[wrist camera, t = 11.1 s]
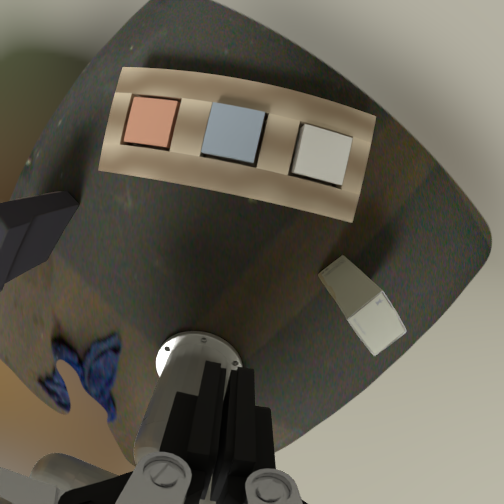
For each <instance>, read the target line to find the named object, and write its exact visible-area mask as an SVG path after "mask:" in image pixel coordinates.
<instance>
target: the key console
mask: <svg viewBox="0 0 504 504" xmlns="http://www.w3.org/2000/svg"><path fill="white" fill-rule="evenodd" d="M134 97H143V98H154V99H164V100H173V101H178V102H179V103H180V108H179V112H178V116H177V120H176V125H175V129H174V133H173V138H172V142H171V147H170V149H169V148H163V147H156V146H149V145H142V144H134V143H129V142H125V141H124V137H125V132H126V128H127V124H128V119H129V115H130V111H131V107H132V103H133V99H134ZM213 102H216V103H222V104H227V105H233V106H238V107H243V108H248V109H253V110H258V111H263V112H265V115H264V120H263V124H262V128H261V132H260V137H259V141H258V145H257V150H256V154H255V158H254V163H248V162H243V161H239V160H234V159H229V158H224V157H219V156H214V155H208V154H204V153H202V152H201V150H202V145H203V141H204V137H205V132H206V128H207V124H208V120H209V116H210V112H211V108H212V104H213ZM375 120H376V116H373V115H371V114H368V113H365V112H363V111H360V110H357V109H354V108H351V107H348V106H345V105H342V104H339V103H336V102H333V101H330V100H326V99H323V98H320V97H316V96H313V95H309V94H305V93H302V92H298V91H294V90H290V89H286V88H282V87H278V86H273V85H269V84H264V83H260V82H255V81H250V80H244V79H239V78H233V77H227V76H221V75H214V74H207V73H199V72H191V71H182V70H171V69H157V68H138V67H123V68H122V71H121V74H120V78H119V81H118V85H117V88H116V92H115V95H114V99H113V103H112V107H111V111H110V115H109V119H108V123H107V128H106V132H105V137H104V142H103V147H102V152H101V158H100V164H99V169H98V170H99V171H106V172H112V173H119V174H125V175H131V176H138V177H144V178H149V179H155V180H161V181H166V182H172V183H177V184H183V185H188V186H193V187H198V188H204V189H209V190H214V191H218V192H223V193H228V194H233V195H238V196H242V197H247V198H252V199H256V200H261V201H265V202H269V203H274V204H278V205H282V206H287V207H291V208H295V209H299V210H303V211H308V212H312V213H316V214H320V215H324V216H328V217H331V218H335V219H339V220H343V221H347V222H351V223H352V222H353V218H354V215H355V211H356V207H357V203H358V199H359V195H360V191H361V187H362V182H363V178H364V174H365V169H366V165H367V160H368V156H369V151H370V146H371V141H372V136H373V131H374V126H375ZM304 124H307V125H311V126H315V127H318V128H322V129H325V130H328V131H332V132H335V133H338V134H341V135H345V136H348V137H351V138H353V139H352V143H351V148H350V153H349V157H348V162H347V166H346V170H345V175H344V179H343V183H342V185H337V184H332V183H328V182H325V181H321V180H317V179H314V178H310V177H306V176H302V175H298V174H294V173H290V170H291V166H292V161H293V157H294V153H295V148H296V144H297V140H298V135H299V131H300V128H301V127H302V126H303V125H304Z"/></svg>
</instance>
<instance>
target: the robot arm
mask: <svg viewBox="0 0 504 504" xmlns="http://www.w3.org/2000/svg"><path fill="white" fill-rule="evenodd" d="M156 369H157V372H158V375H159V377H160V378H159V380H158V383H157V385H156V388H155V390H154V393H153V395H152V398H151V400H150V403H149V405H148V408H147V411H146V413H145V416H144V418H143V421H142V424H141V426H140V429H139V432H138V434H137V437H136V440H135V444H134V459H135V463H136V468H135V469H134V471H132V472H129V473H126V474H123V475H120V476H118V475H116V474H113V473H111V472H108V471H106V470H103V469H101V468H99V467H96V466H94V465H91V464H89V463H87V462H84V461H82V460H80V459H77V458H75V457H73V456H70V455H66V454H62V453H51V454H48V455H45V456H44V457H42V458H41V459H40V460H39V461H38V462H37V463H36V465H35V466H34V468H33V469H32V471H31V474H30V477H27V476H24V475H21V474H18V473H15V472H13V471H10V470H8V469H5V468H1V467H0V504H307V503H306V502H304V501H303V500H302V499H301V497H300V494H299V491H298V488H297V485H296V483H295V481H294V480H293V479H292V478H291V477H290V476H289V475H288V474H286V473H284V472H283V471H280V470H276V467H275V455H274V443H273V431H272V419H271V410H270V408H267V407H259V406H255V390H254V369H249V368H243V365H242V361H241V358H240V356H239V354H238V353H237V351H236V350H235V349H234V347H232V346H231V345H230V344H229V343H228V342H227V341H225V340H223V339H222V338H220V337H218V336H216V335H213V334H210V333H207V332H202V331H185V332H181V333H178V334H175V335H173V336H171V337H170V338H168V339H167V340H166V341H165V342H164V343H163V344H162V345H161V347H160V349H159V351H158V354H157V357H156Z"/></svg>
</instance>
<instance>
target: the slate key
mask: <svg viewBox="0 0 504 504" xmlns="http://www.w3.org/2000/svg"><path fill="white" fill-rule="evenodd" d="M264 115H265V112H263V111H258V110H253V109H248V108H243V107H238V106H233V105H227V104H222V103H216V102H213V104H212V108H211V112H210V116H209V120H208V124H207V128H206V132H205V137H204V141H203V145H202V150H201V152H202V153H204V154H208V155H214V156H219V157H224V158H229V159H234V160H239V161H243V162H248V163H254V158H255V154H256V150H257V145H258V141H259V137H260V132H261V128H262V124H263V120H264Z"/></svg>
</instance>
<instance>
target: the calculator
mask: <svg viewBox="0 0 504 504" xmlns="http://www.w3.org/2000/svg"><path fill="white" fill-rule="evenodd" d="M78 206H79V203H78V202H77V201H76V200H75V199H74V198H73V197H72V196H71V195H70V194H69V193H68V192H67V191H62V192H61V191H58V192H52V193H46V194H42V195H35V196H30V197H24V198H19V199H16V200H13V201H8V202H4V203H0V291H2V289H3V287H4V284H5V283H7V282H8V281H10V280H12V279H14V278H15V277H17V276H19V275H21V274H23V273H25V272H26V271H28V270H30V269H32V268H34V267H36V266H37V265H39V264H41V263H43V262H45V261H47V259H48V258H49V256H50V254H51V252H52V250H53V248H54V247H55V245H56V243H57V241H58V240H59V238H60V236H61V234H62V233H63V231H64V229H65V228H66V226H67V224H68V223H69V221H70V219H71V218H72V216H73V214H74V213H75V211H76V210H77V208H78Z"/></svg>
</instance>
